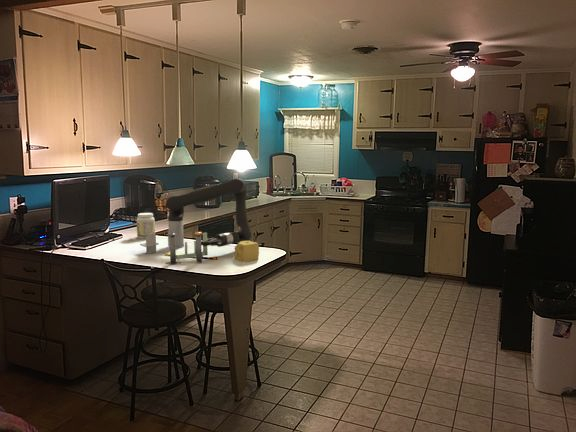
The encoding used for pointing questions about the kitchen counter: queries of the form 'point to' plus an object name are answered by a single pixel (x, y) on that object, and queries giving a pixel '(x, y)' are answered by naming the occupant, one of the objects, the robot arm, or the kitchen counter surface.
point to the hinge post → (172, 250)
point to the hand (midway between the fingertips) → (201, 243)
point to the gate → (194, 250)
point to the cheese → (246, 251)
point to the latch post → (198, 247)
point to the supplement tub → (145, 225)
